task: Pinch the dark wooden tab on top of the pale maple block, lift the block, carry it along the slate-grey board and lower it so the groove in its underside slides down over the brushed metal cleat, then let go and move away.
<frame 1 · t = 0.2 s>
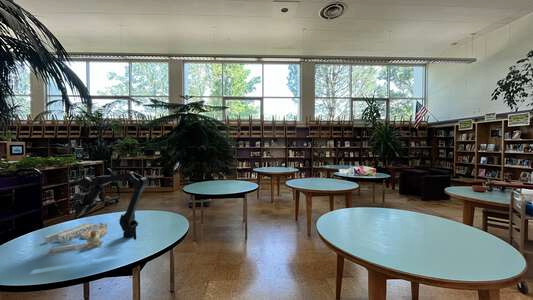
hand: (80, 215, 152), 15 cm above the table, tool tilted 30°, fingers open, 9 cm apart
cabinet block: (93, 245, 138), point 1 cm above the table, touching wall board
wall board: (76, 250, 134), on the table
sign: (87, 236, 157), on the table
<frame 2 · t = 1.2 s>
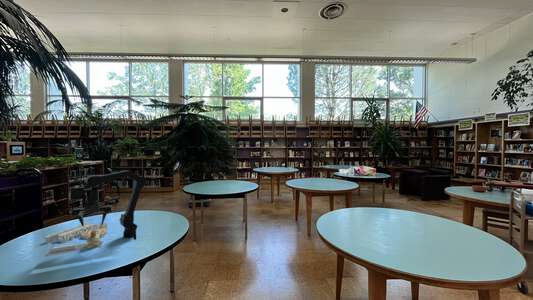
hand: (92, 225, 138), 13 cm above the table, tool pointing down, fingers open, 9 cm apart
nothing on the table moved.
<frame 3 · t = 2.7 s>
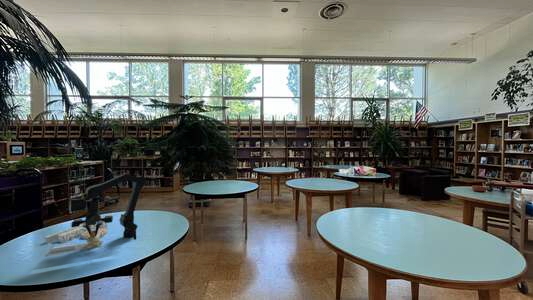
hand: (93, 236, 138), 7 cm above the table, tool pointing down, fingers closed on cabinet block
cabinet block: (93, 245, 138), point 2 cm above the table, touching gripper, wall board
everything else where it was.
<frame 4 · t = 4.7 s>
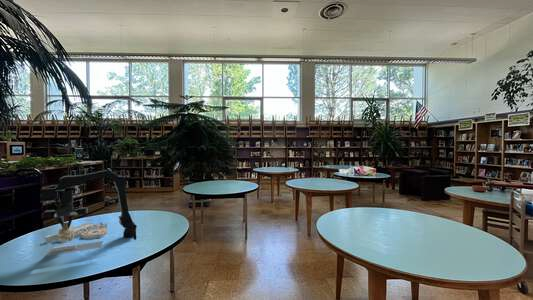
hand: (66, 227, 132), 13 cm above the table, tool pointing down, fingers closed on cabinet block
cabinet block: (66, 237, 132), point 8 cm above the table, touching gripper
everything else where it was.
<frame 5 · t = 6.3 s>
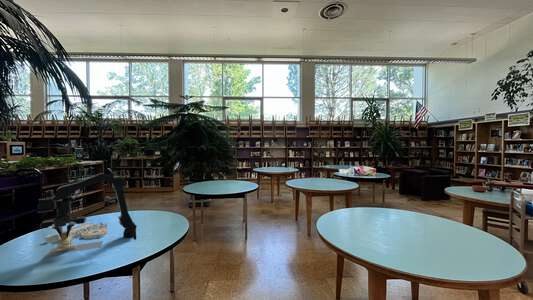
hand: (64, 237, 132), 8 cm above the table, tool pointing down, fingers closed on cabinet block
cabinet block: (64, 247, 132), point 3 cm above the table, touching gripper
everything else where it was.
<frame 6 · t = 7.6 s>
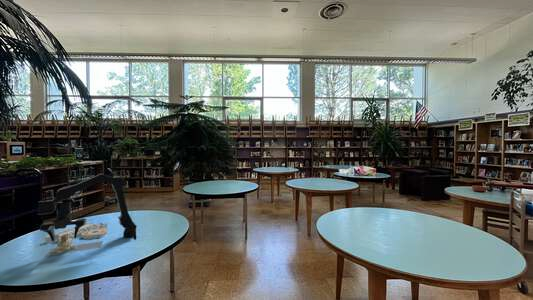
hand: (64, 239, 132), 7 cm above the table, tool pointing down, fingers open, 9 cm apart
cabinet block: (64, 249, 132), point 1 cm above the table, touching wall board
everything else where it was.
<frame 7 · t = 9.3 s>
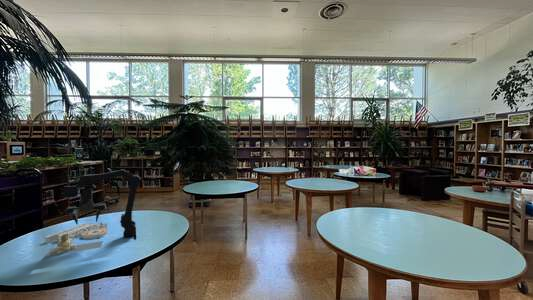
hand: (86, 223, 142), 13 cm above the table, tool pointing down, fingers open, 9 cm apart
nothing on the table moved.
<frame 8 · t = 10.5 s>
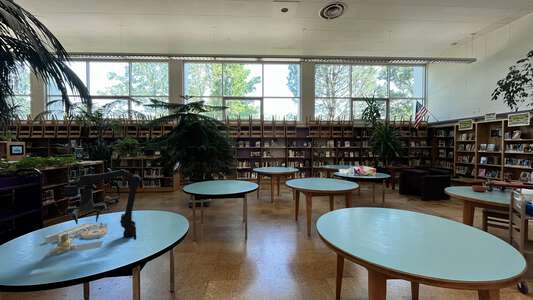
hand: (86, 223, 142), 13 cm above the table, tool pointing down, fingers open, 9 cm apart
nothing on the table moved.
at the end: cabinet block 0.1 cm from the target spot on the wall board, point 1.5 cm above the wall board's base; cabinet block tilted 0°; the gripper is holding nothing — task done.
